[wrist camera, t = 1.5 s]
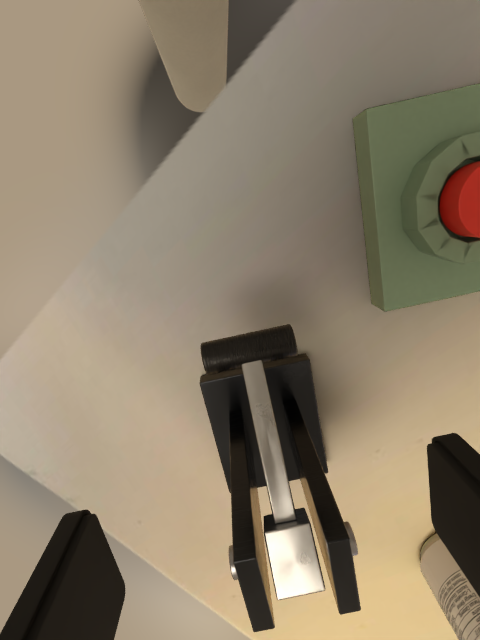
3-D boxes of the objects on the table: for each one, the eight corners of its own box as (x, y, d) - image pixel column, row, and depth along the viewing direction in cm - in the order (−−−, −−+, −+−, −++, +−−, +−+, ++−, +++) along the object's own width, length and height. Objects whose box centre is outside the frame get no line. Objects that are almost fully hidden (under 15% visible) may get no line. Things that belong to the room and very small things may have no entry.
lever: (204, 346, 21) (197, 339, 18) (288, 328, 21) (291, 319, 18) (248, 580, 18) (246, 607, 16) (344, 560, 18) (357, 585, 16)
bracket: (200, 375, 26) (180, 518, 14) (306, 352, 26) (379, 477, 14) (229, 482, 29) (234, 678, 17) (324, 462, 29) (398, 645, 17)
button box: (352, 118, 22) (379, 98, 18) (513, 82, 21) (576, 54, 18) (371, 303, 25) (397, 320, 21) (509, 273, 25) (561, 284, 21)
